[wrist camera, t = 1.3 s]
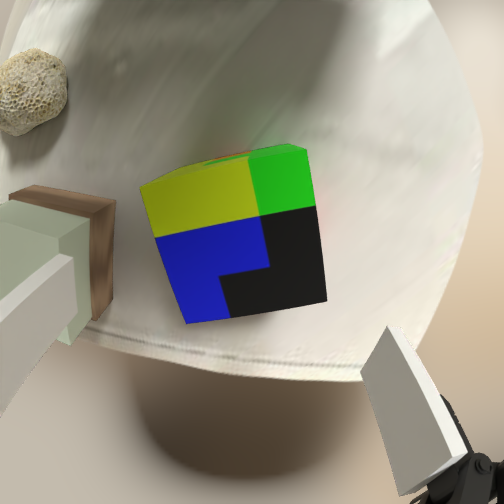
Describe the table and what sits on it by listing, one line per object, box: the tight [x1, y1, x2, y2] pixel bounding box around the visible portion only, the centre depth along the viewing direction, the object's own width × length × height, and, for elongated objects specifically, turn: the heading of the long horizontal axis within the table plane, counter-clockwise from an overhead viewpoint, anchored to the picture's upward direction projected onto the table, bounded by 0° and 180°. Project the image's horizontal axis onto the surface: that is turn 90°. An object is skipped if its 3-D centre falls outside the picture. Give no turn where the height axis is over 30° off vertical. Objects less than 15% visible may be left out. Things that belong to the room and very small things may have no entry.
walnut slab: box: [9, 185, 116, 321], centre depth 27 cm, size 12×12×5 cm
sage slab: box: [0, 200, 92, 346], centre depth 22 cm, size 11×11×5 cm
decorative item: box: [0, 48, 67, 136], centre depth 19 cm, size 12×9×10 cm
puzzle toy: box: [139, 144, 327, 324], centre depth 22 cm, size 10×10×10 cm
